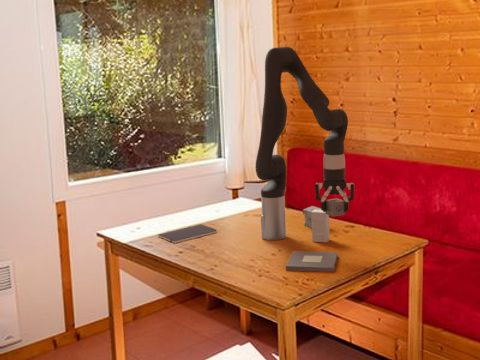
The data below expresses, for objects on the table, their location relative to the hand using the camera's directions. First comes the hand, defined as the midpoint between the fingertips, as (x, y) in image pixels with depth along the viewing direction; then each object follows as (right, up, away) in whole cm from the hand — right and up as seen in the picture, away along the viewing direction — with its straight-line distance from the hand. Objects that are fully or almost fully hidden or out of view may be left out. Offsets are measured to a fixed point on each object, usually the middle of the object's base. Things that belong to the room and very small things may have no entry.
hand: (335, 211), depth 216 cm
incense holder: (-3, -9, +38) cm, 39 cm away
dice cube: (0, -1, 0) cm, 1 cm away
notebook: (-56, -12, +37) cm, 68 cm away
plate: (-9, -18, -6) cm, 21 cm away
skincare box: (-3, -13, +19) cm, 23 cm away
